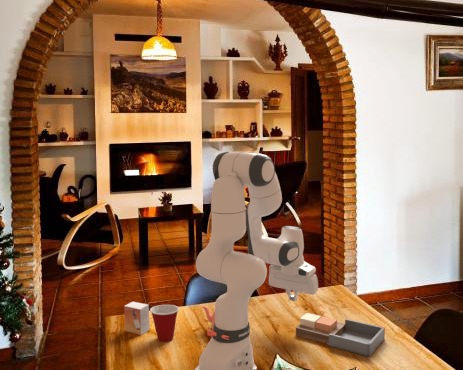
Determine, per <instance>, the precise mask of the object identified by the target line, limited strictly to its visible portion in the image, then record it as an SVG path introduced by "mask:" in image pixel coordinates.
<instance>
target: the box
mask: <svg viewBox="0 0 463 370" xmlns="http://www.w3.org/2000/svg"><path fill="white" fill-rule="evenodd" d="M344 324H346V330H345V331H344V332H343V333H342V334H341V335H340V336H338V335H334V334H329V344H328V347H330V346H331V348H334V347H335V349H337V348H338V349H337V350H341V349H342V351H345V352H350V353H353V354H356V355H360V356H363V355H364V356H363V357H367V358H370V357H371V356H372V355H373V354H374V352H376V350H377V349H378V348H377V347H380V346H381V344H382V343H383V342H384V341H385V340H386V339H385V338H386V337H385V331H386V328H385V327H383V326H379V325H374V324H370V323H366V322H362V321H358V320H354V319H353V320H352V319H348V318H345V319H344ZM382 341H383V342H382ZM381 342H382V343H381Z"/></svg>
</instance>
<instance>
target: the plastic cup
mask: <svg viewBox="0 0 463 370" xmlns="http://www.w3.org/2000/svg"><path fill="white" fill-rule="evenodd" d="M179 310H180V307H179V306H177V305H174V304H160V305H154V306H152V307H150V308H149V313H151V315H152V319H153V324H154V325H153V326H154V329H155V332H156V336H157V337H156V338H157V340H158V341H159V342H162V343H167V342H171V341H172V340H174V336H175V330H176V321H177V317H178V316H177V315H178V312H179Z"/></svg>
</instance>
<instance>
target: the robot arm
mask: <svg viewBox="0 0 463 370" xmlns="http://www.w3.org/2000/svg"><path fill="white" fill-rule="evenodd" d="M212 174H213V177H214V182H213V184H212V190H211V198H210V199H211V200H210V204H211V205H210V210H211V213H210V214H211V232H210V238H209V241H208V243H207V245H206V247H204V248H203V249H202V250H201V251H200V252H199V254H198V255H197V257H196V259H195V269H196V272H197V274H199V276H201V277H202V278H204V279H207V280H209V281H211V282H215V283H220V284H225V285H226V287H227V289H226V292H225V293H223V294H220V295H219V297H218V298H217V299H216V300H215V301H214V309H215V323H214V327H213V331H212V329H208V330H207V332H206V335H207V336H208V337H211V338H210V340H209V341H208V343H207V345H206V346H205V348H204V349H203V351H202V353H201V354H200V356H199V360H198V365H197V366H196V367H195V369H194V370H258V368H257V367H258V366H257V365H256V364H255V361H254V350H253V345H252V344H253V343H252V342H251V339H250V334H251V332H250V331H251V326H250V322H249V304H250V299H251V296H252V295H253V293H254V292H255V291H256V290H257V289H259V288H260V287H261V286H263V284H264V283H265V281H266V280H267V279H266V278H267V275H268V285H269V286H270V287H274V288H277V289H278V288H279V289H283V290H285V293H286V294H287V296H288V301H292V302H297V301H298V296H299V294H300V293H303V294H306V295H312V296H314V295H315V294H317V292H318V291H319V279H318V276H317V273H316V271H317V268H316V267H315V266H314V265H311V264H310V263H309V262H307V261H305V258H304V257H305V256H304V255H303V254H304V249H305V246H304V245H305V243H304V235H303V231H302V229H301V228H300V227H298V226H292V225H291V226H290V225H285V226H283V227H281V233H280V235H279V236H278V237H277V238H275V237H274V238H273V237H268V236H266V235H265V234H263V225H262V224H263V223H262V217H266V216H269V215H271V214H273V213H274V212H276V211H277V210H278V209H279V208H280V207H281V204H282V202H283V197H282V190H281V186H280V181H279V179H278V175H277V173H276V167H275V164H274V162H273V160H272V158H271V157H270V156H269V155H266V154H262V153H253V152H246V151H224V152H221V153H219V154H217V155H216V156H215V158H214V160H213V163H212ZM245 187H247V190H248V195H249V202H248V203H247V204H246V199H245V191H244V190H245ZM246 231H247V240H248V241H247V252H248V253H245V252H242V251H235V250H234V246H235V242H237V241H239V240H240V239H241V240H242V238H243V237H244V236H245V233H246ZM266 264H269V267H268V268H269V269H267V265H266ZM268 271H269V273H268ZM291 291H293V292H294V293H293V294H292V292H291Z"/></svg>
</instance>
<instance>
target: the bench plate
mask: <svg viewBox="0 0 463 370" xmlns="http://www.w3.org/2000/svg"><path fill="white" fill-rule="evenodd" d="M345 330H346V324H345V323H343V322H339V321H337V327H336V328H335V329H333V330H332V331H331V332H328V331H324V330H320V329H316V327H315V328H312V327H308V326H304V325H300V324H299V325H297V326H296V327H295V336H298V337H301V338H306V339H309V340H312V341H316V342H319V343H323V344H327V343H328V344H327V345H329V334H334V335H338V336H340V335H341V334H342V333H343V332H344V331H345Z"/></svg>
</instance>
